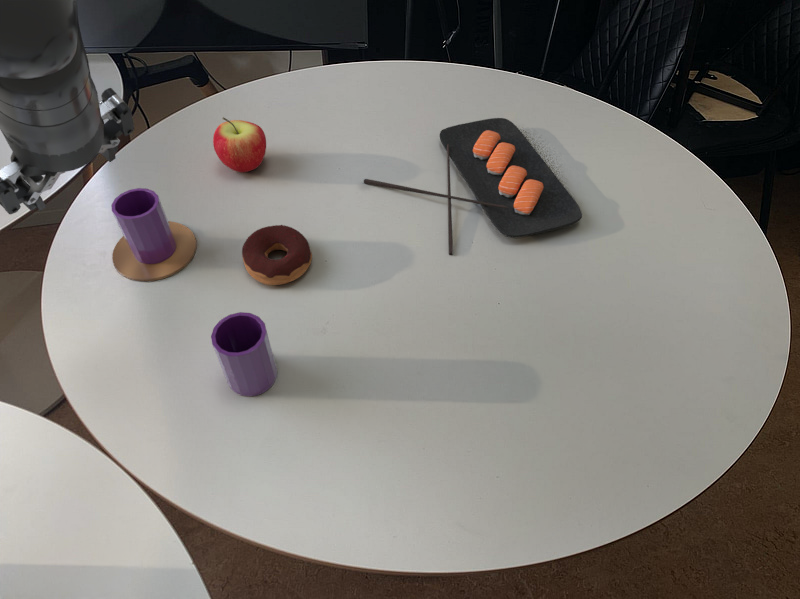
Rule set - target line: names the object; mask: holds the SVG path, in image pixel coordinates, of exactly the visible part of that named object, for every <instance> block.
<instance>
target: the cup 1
mask: <svg viewBox="0 0 800 599" xmlns="http://www.w3.org/2000/svg"><path fill="white" fill-rule="evenodd" d="M111 212H112V214H113V216H114V219H115V221H116V223H117V225H118V227H119V230H120V231H121V233H122V235H123V236H124V237H125V239H126V242H127V244H128V246H129V248H130V250H131V252H132V254H133V255H134V257H135V259H136V260H138V261H139V262H141V263H144V264H156V263H160V262H162V261H165V260H166V259H168V258H169V257H171V256H172V255H173V253H174V252H175V250H176V241H175V237H174V235H173V232H172V230H171V227H170V225H169V222H168V221H169V220H168V217H167V214H166V212H165V209H164V207H163V205H162V201H161V199H160V196H159V195H158V194H157V193H156V191H154V190H152V189H149V188H146V187H145V188H144V187H143V188H142V187H137V188H131V189H128V190H126V191H124V192H121V193H120V194H118V196H117V197H115V198H114V199H113V201H112V203H111Z"/></svg>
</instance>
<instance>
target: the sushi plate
mask: <svg viewBox="0 0 800 599" xmlns="http://www.w3.org/2000/svg"><path fill="white" fill-rule="evenodd" d="M439 140H440V142H441V144H442V146H443V148H444V149H445V151H446V159H447V162H446V163H447V165H446V166H447V168H446V169H447V194H443V193H439V192H433V191H430V190H429V191H428V190H424V189H420V188H419V189H418V188H414V187H411V186H410V187H409V186H405V185H400V184H394V183H389V182H385V181H379V180H374V179H369V178H364V179H363V184H366V185H370V186H377V187H382V188H386V189H387V188H388V189H392V190H398V191H405V192H412V193H416V194H422V195H429V196H434V197H440V198H446V199H447V224H448V226H447V227H448V228H447V230H448V231H447V232H448V233H447V234H448V235H447V236H448V255H449V256H453V254H454V244H453V242H454V241H453V218H452V215H453V214H452V200H457V201H461V202H466V203H473V204H479V205H480V206H481V207H482V210H483V211H484V212H485V214H486V216H487V217H488V218H489V220H490V222H491V223H492V224H493V226H494V227H495V228H496V230H497V231H498V232H499V233H500V234H502V235H503V236H505V237H508V238H525V237H529V236H534V235H538V234H542V233H547V232H550V231H555V230H558V229H562V228H565V227H568V226H571V225H574V224H576V223H578V222H579V221H580V220H581V219H582V218H583V216H582V215H583V213H582V210H581V207H580V206H579V204H578V203H577V201H576V200H575V199H574V197H573V196H572V194H571V193H570V192H569V191H568V189H567V188H566V187H565V186H564V184H563V183H562V181H561V180H560V179H559V178H558V177H557V176H556V174H555V173H554V172H553V170H552V169H551V168H550V166H548V164H547V163H546V162H545V160H544V159H543V158H542V157H541V155H540V154H539V153H538V151H537V150H536V149H535V147H533V145H532V144H531V142H529V140H528V139H527V137H526V136H525V135H524V134H523V132H522V131H521V130H520V128H518V127H517V126H516V124H515V123H514V122H512V121H511V120H510V119H508V118H504V117H493V118H486V119H480V120H476V121H469V122H465V123H460V124H456V125H452V126H448V127H446V128H443V129H442V130H441V131H440V132H439ZM450 159H451V160H450ZM450 161H452V162H453V164H454V166H455V167H456V169H457V170H458V171H459V173H460V175H461V176H462V178H463V179H464V181H465V183H466V184H467V186H468V187H469V188H470V191H471V192H472V194H473V195H474V196H475V198H476V199H475V200H474V199H470V198H464V197H460V196H453V195H452V192H451V169H450V168H451V165H450Z"/></svg>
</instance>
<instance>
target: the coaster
mask: <svg viewBox="0 0 800 599" xmlns="http://www.w3.org/2000/svg"><path fill="white" fill-rule="evenodd" d="M168 222H169V225H170V227H171V230H172V232H173V235H174V237H175V241H176V250H175V252H174V253H173V255H172V256H171V257H169V258H168V259H166V260H165V261H162V262H160V263H156V264H144V263H141V262H139V261H138V260H136V259H135V257H134V255H133V254H132V252H131V250H130V248H129V246H128V244H127V242H126V239H125V237H124V235H123V236H121V237H120V238H119V240H118V241H117V242H116V244H115V246H114V248H113V250H112V254H111V255H112V258H111V260H112V264H113V266H114V268H115V269H116V271H117V272H118V273H119V274H120V275H121V276H123V277H125V278H126V279H130V280H132V281H136V282H156V281H159V280H164V279H166V278H169V277H171V276H173V275H176V274H177V273H179V272H181V271H182V270H183V269H185V268H186V267H187V266H188V265H189V264H190V263H191V262H192V260H193V258H194V257H195V255H196V252H197V246H198V243H197V239H196V237H195V234H194V233H193V231H192V230H191V229H190V228H189V227H187V226H186V225H184V224H181V223H179V222H177V221H172V220H171V221H170V220H168Z"/></svg>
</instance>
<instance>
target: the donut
mask: <svg viewBox="0 0 800 599" xmlns="http://www.w3.org/2000/svg"><path fill="white" fill-rule="evenodd" d="M277 250H279V251H283V252H286V255H285V256H284V257H281V258H279V259H274V258H269V254H270V253H271V252H273V251H277ZM241 258H242V261H243V265H244V267H245V269H246V270H245V271H247V273H248V275H250V276H251V277H252V278H253V279H254V280H255V281H256V282H259V283H261V284H263V285H266V286H279V285H284V284H288V283H291V282H293V281H295V280H297V279H299V278H300V277H301V276H303V275H304V274H305V273H306V271H307V270H308V269H309V267H310V265H311V263H312V260H313V254H312V251H311V247H310V243H309V242H308V239H307V238H306V237H305V235H303V233H301V232H300V231H299V230H297V229H295V228H293V227H291V226H288V225H283V224H281V225H279V224H278V225H277V224H275V225H267V226H264V227H261V228H258V229H257V230H255V231H254V232H252V233H251V234H249V235H248V236H247V238H246V239H245V241H244V243H243V246H242V249H241Z"/></svg>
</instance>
